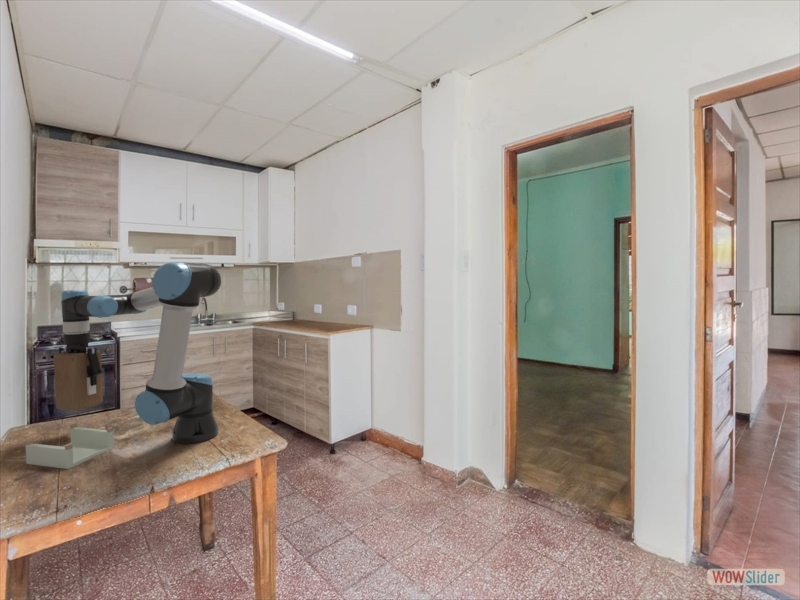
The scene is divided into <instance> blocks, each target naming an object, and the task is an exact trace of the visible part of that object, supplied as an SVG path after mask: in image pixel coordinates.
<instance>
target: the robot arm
mask: <svg viewBox="0 0 800 600" xmlns="http://www.w3.org/2000/svg"><path fill="white" fill-rule="evenodd" d="M151 283H152V286H150V287H148V288H145V289H141V290H137V291H135V292H131V293H128V294H113V295H112V294H108V295H107V294H106V295H89V292H88V290H84V289H73V290H72V289H71V290H70V289H68V290H67V289H66V290H63V291H62V292H61V300H60V302H61V314H62V315H61V318H62V333H64V334H63V335H62V336H63V344H64V345H66V346H62V347H58V354H59V353H65V352H67V353H85V352H86V353H87V355H88V359H89V363H90V365H88V366H87V374H88V376H87V395H92V394H95V393H96V385H97V375H99V374H101V373H102V374H103V372H102V371H101V369H102V367H101V368H100V364H99V361H98V357H97V351H98V349H97V348H96V347H90V346H89V343H90V342H91V333H90V332H89V331H90V330H91V329H90V327H91V325H90V318H98V319H99V318H100V319H102V318H109V317H110V318H111V317H112V316H113V317H114V316H120V315H132V314H133V315H137V314H143V313H145V312H147V310H149V309H154V308H157V307H161V306H162V311H161V318H160V327H159V332H158V333H159V334H158V340H157V346H156V354H155V359H154V360H155V361H154V367H153V373H152V374H153V375H152V376H151V377H150V378H148V379H147V380H146V383H145V384H146V385H145V390H142V391H141V392H140V393H139V394H137V395H136V397H135V400H134V408H135V411H136V413H137V415H138V417H139V419H140V420H141V421H142V422H144V423H145V424H148V425H151V426H155V425H159V424H162V423H164V424H165V423H166V422H168V421H170V420H172V419H175V418H176V421H175V423H174V427H173V430H172V433H171V434H172V435H171V436H172V437H171V438H172V441H173V442H174V443H177V444H195V443H201V442H202V443H203V442H204V441H209V440H210V439H213V438H215V437H216V436H217V435H218V434H219V425H218V423H217V421H216V419H215V416H214V413H213V411H214V409H213V405H214V404H213V400H214V399H213V398H214V397H213V378H212V376H211V375H210V374H206V373H184V368H185V362H186V357H187V356H186V355H187V349H188V343H189V336H190V329H191V324H192V318H193V313H194V310H195V309H197V308H198V307H199V306H200V299H201V298H206V297H211V296H213V295H214V294H216V293H217V292H218V291H219V290H220V288H221V285H222V277H221V274H220V273H219V270H217V269H216V268H215V267H214V266H212V265H210V264H208V263H203V262H202V263H198V262H197V263H196V262H183V261H182V262H181V261H175V262H167V263H164V264H162V265H161V266H159V267H158V268H157V269H156V271H155V272H154V274H153V277H152V282H151Z"/></svg>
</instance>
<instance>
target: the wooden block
mask: <svg viewBox="0 0 800 600" xmlns="http://www.w3.org/2000/svg"><path fill="white" fill-rule="evenodd" d="M97 357H98V361H99V364H100V368H101V371H102V353H101V350H100V351H99V350H97ZM88 365H90V363H89V359H88V355H87V353H86V352H85V353H67V352H65V353H59V352H58V353H56V354H54V355H53V371H54V373H53V374H54V392H55V407H56V409H57V410H62V411H63V410H65V411H76V412H77V411H78V412H79V411H82V410H85V409H88V408H91V407H93V406H97V405H100V404H102V403H103V402H104V398H103V397H104V395H103V372H102V373H101V374H99V375H97V385H96V393H95V394H92V395H87V376H88V374H87V366H88Z"/></svg>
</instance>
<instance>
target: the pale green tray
mask: <svg viewBox="0 0 800 600" xmlns="http://www.w3.org/2000/svg"><path fill="white" fill-rule="evenodd" d="M69 427H70V429H69V430H70V431H69V432H70V442H68V443H66V444H64V445H61V446H60V445H59V446H58V445H51V444H50V445H49V444H41V443H35V442H34V439H29V440H26V441H25V464H26V465H34V466H39V467H40V466H41V467H49V468H57V469H67V470H69V469H72V468H74V467H76V466H78V465H80V464H83V463H84V462H86V461H89V460H91V459H93V458H95V457H97V456H100V455H102V454H103V453H105V452H108V451H110V450H112V449H114V448H115V446H114V444H115V443H114V427H111V426H110V427H108V428H106V429H101V428H100V429H99V428H88V427H81V426H79V427H78V423H72V424H70V425H69Z"/></svg>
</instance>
